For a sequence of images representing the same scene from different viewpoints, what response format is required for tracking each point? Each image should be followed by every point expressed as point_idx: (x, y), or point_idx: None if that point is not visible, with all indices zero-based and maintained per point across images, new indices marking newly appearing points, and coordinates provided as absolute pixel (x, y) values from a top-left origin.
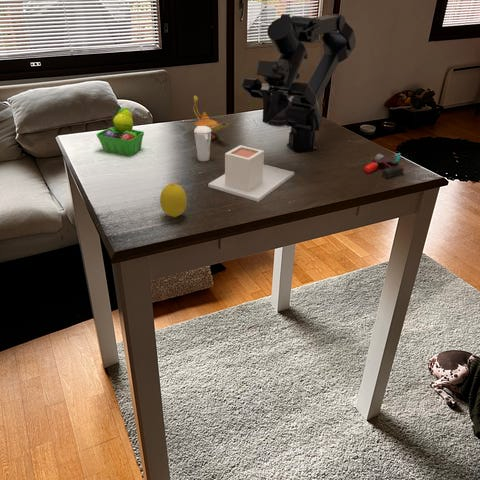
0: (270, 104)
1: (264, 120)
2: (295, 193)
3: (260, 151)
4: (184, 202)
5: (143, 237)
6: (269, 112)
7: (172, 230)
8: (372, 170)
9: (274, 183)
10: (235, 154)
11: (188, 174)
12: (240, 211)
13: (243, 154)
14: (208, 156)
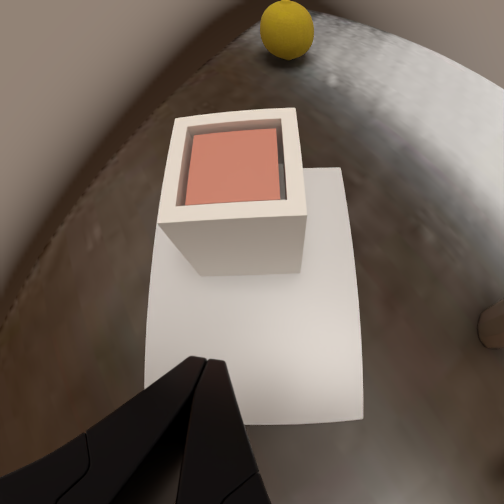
0: (103, 489)
1: (197, 357)
2: (97, 287)
3: (169, 207)
4: (260, 30)
5: None
6: (128, 403)
7: (259, 42)
8: None
9: (161, 290)
10: (265, 139)
11: (441, 206)
12: None
13: (235, 158)
14: (485, 330)
